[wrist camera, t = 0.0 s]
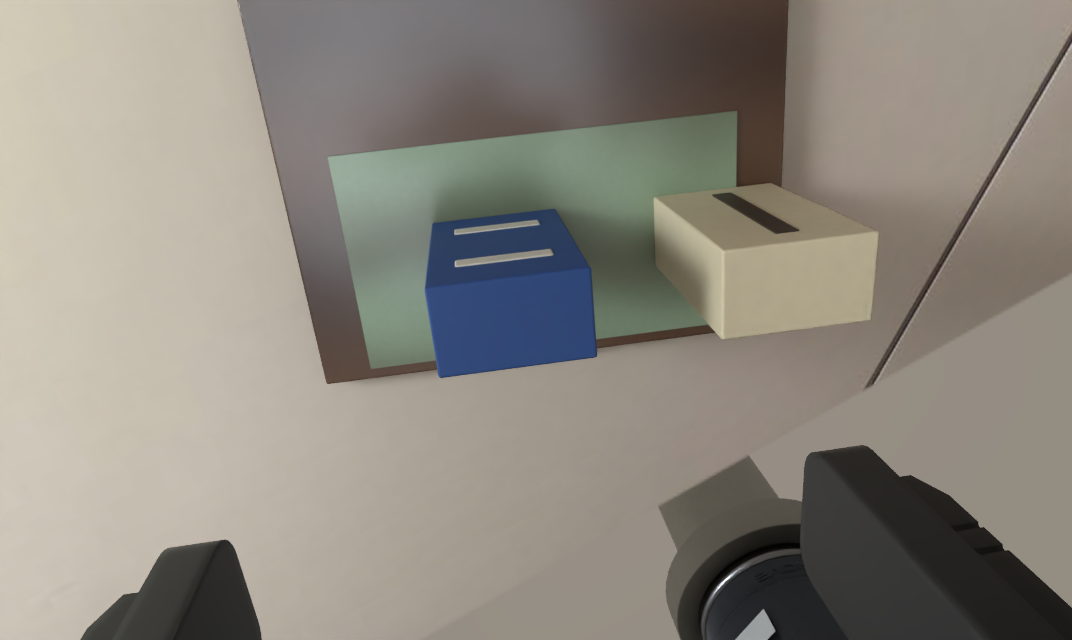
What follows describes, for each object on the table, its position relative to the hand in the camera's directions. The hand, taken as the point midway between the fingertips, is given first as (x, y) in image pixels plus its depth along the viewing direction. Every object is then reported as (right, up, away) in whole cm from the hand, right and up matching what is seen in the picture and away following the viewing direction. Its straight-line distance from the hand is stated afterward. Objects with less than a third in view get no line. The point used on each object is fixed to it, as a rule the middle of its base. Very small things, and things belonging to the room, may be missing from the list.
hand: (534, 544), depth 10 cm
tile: (+7, +7, +19) cm, 22 cm away
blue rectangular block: (-1, +6, +19) cm, 20 cm away
